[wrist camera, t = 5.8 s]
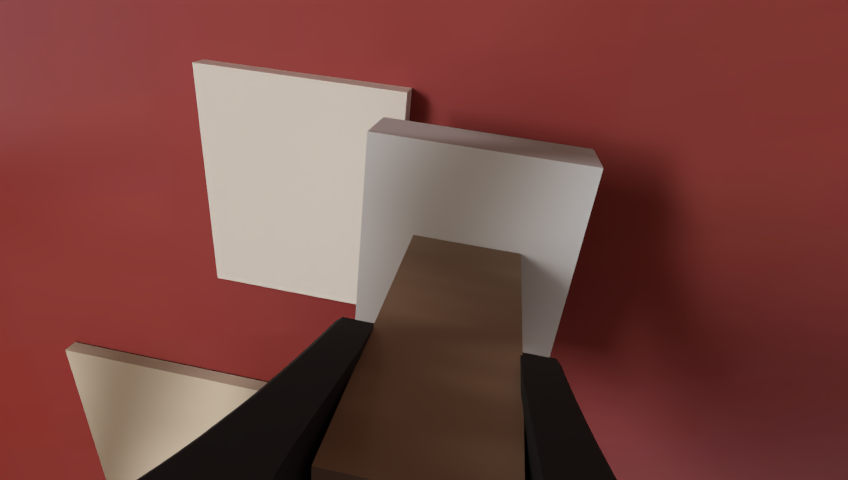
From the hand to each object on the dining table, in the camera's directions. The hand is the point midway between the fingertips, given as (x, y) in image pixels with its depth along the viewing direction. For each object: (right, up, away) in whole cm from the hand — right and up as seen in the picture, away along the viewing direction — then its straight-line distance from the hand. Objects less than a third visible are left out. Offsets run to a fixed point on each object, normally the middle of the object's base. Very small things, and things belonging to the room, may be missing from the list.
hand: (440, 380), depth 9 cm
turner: (+1, +2, +5) cm, 5 cm away
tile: (-1, +4, +6) cm, 7 cm away
